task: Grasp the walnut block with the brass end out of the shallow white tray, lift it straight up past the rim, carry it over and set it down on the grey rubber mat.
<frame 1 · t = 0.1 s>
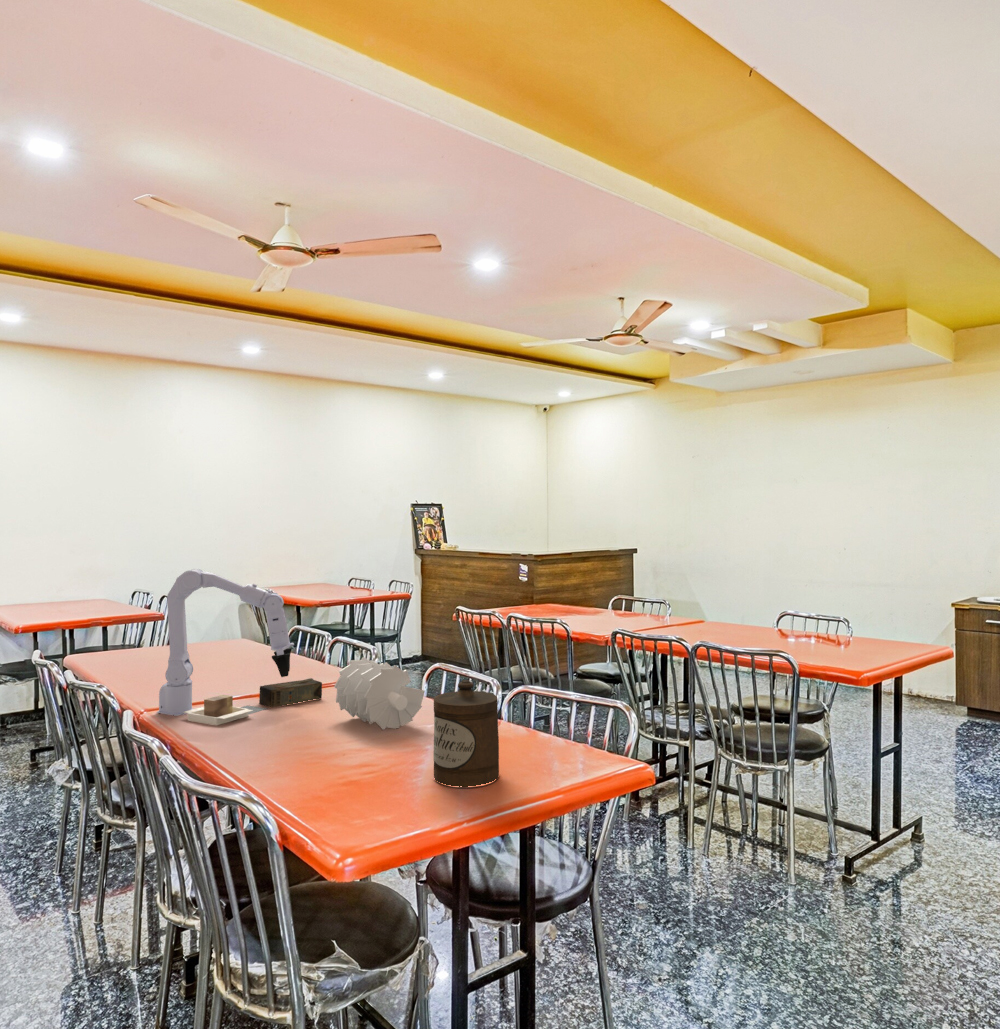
hand: (285, 674, 234), 11 cm above the table, tool pointing down, fingers open, 7 cm apart
beverage carton: (291, 703, 242), on the table
mat: (246, 711, 230), on the table
spiral staircase: (377, 723, 216), on the table
white tray: (218, 719, 220), on the table
walnut block: (218, 718, 220), resting on white tray
wooden container: (466, 778, 168), on the table
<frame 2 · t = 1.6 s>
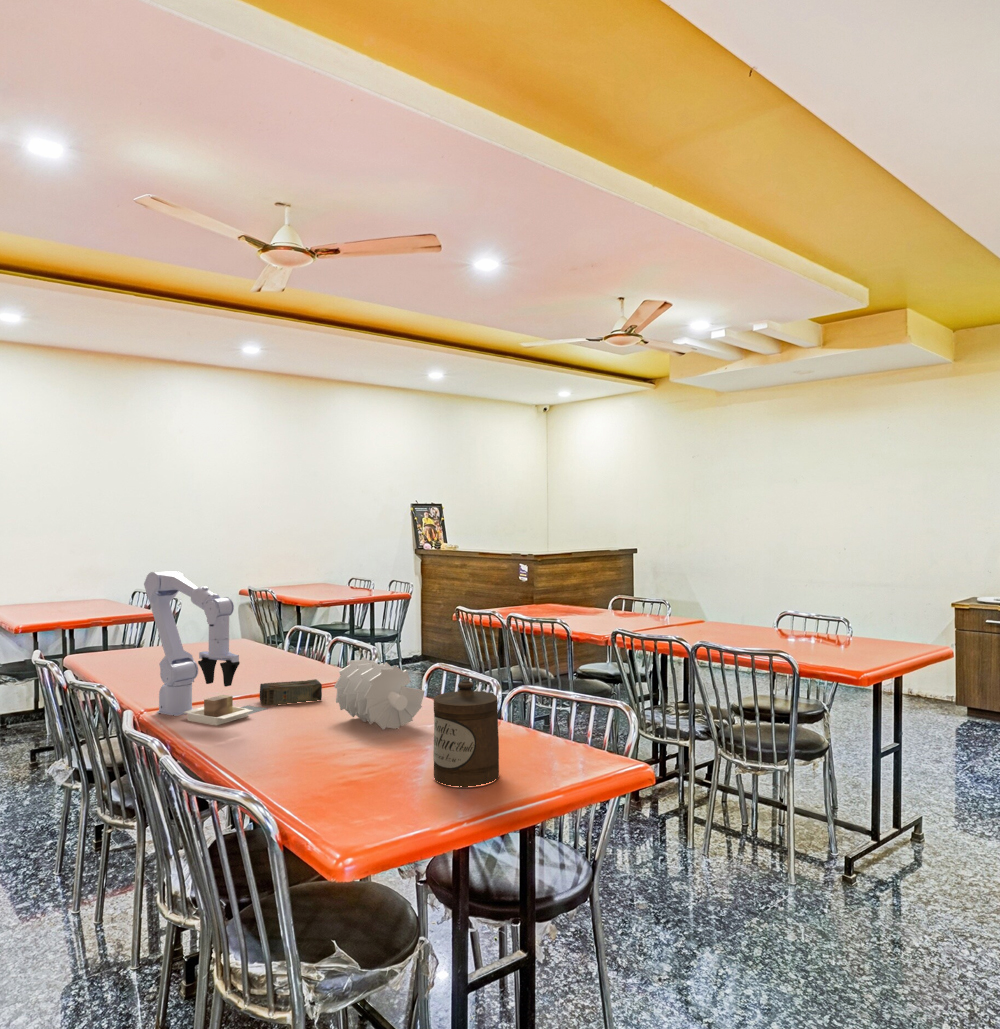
hand: (218, 684, 220), 10 cm above the table, tool pointing down, fingers open, 7 cm apart
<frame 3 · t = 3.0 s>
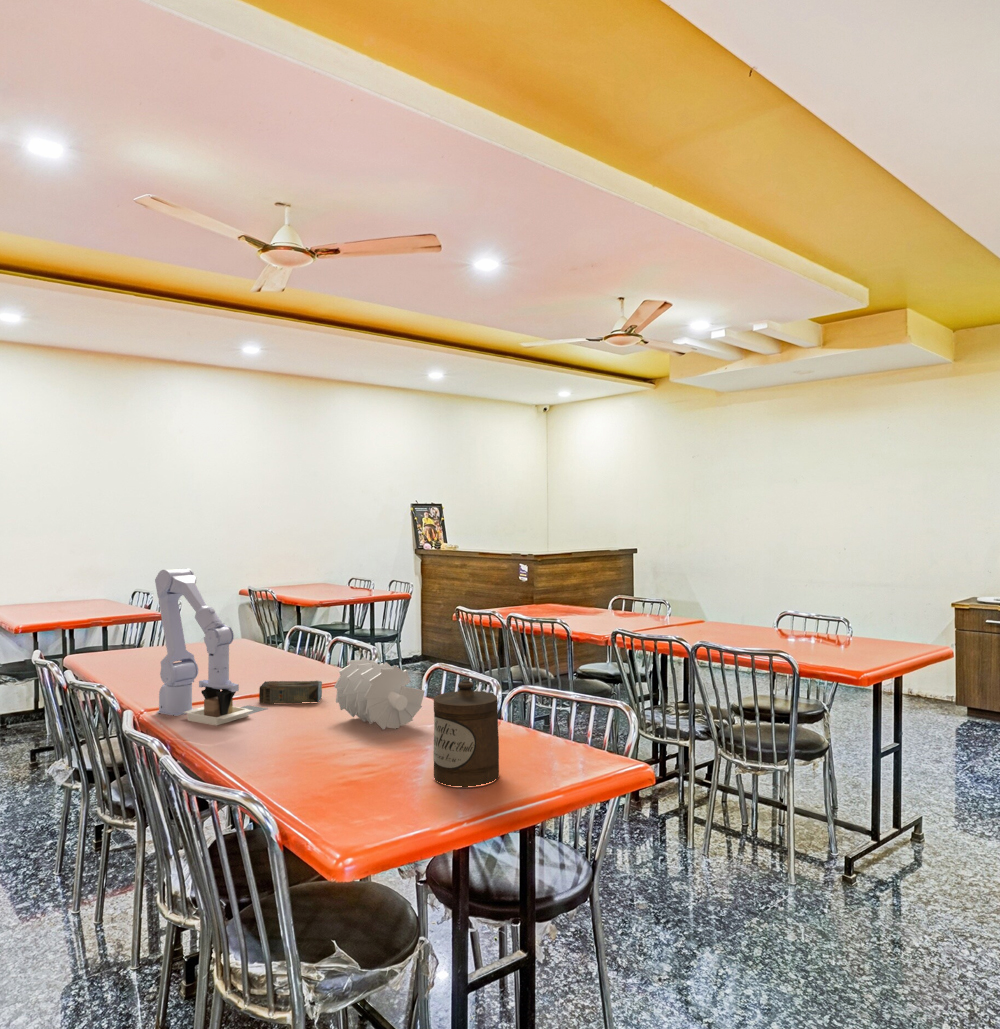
hand: (218, 713, 220), 2 cm above the table, tool pointing down, fingers closed on walnut block, 4 cm apart
walnut block: (218, 718, 220), resting on white tray, touching gripper
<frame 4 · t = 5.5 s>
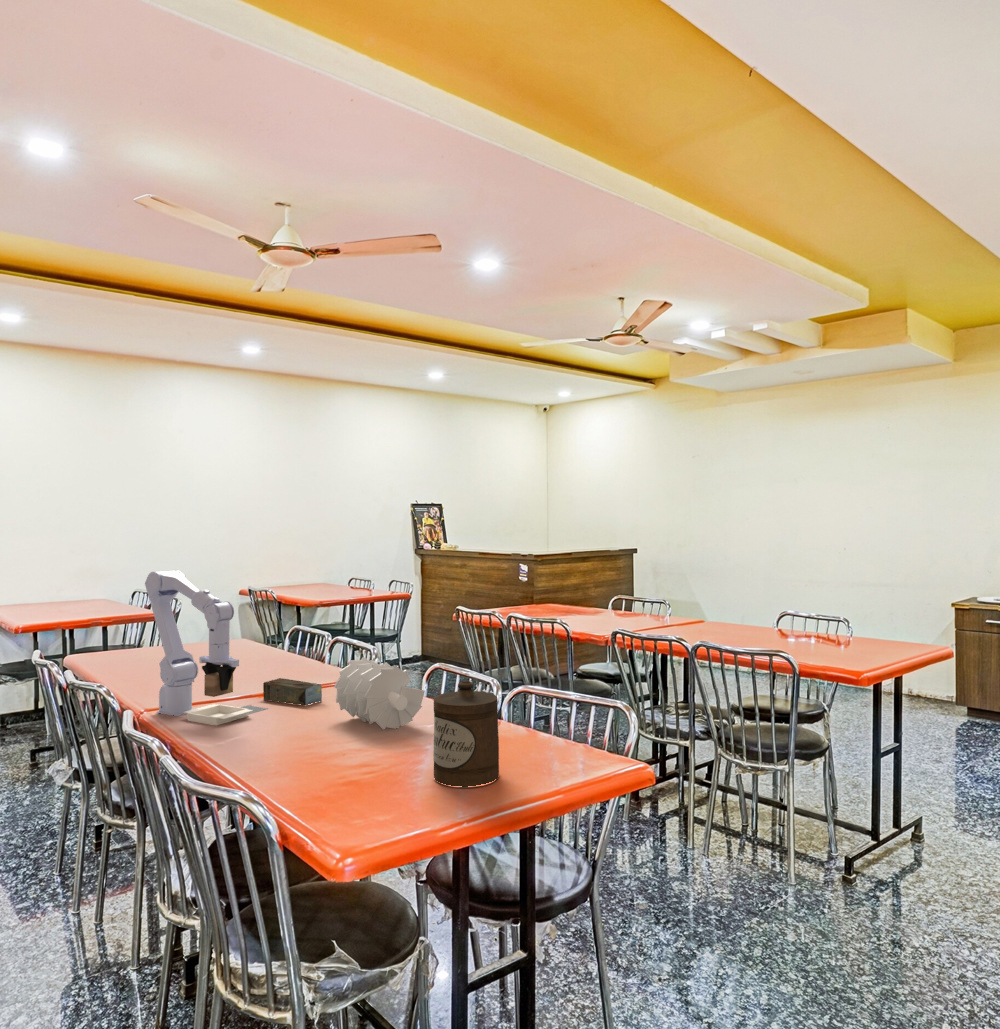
hand: (218, 689, 220), 9 cm above the table, tool pointing down, fingers closed on walnut block, 4 cm apart
walnut block: (218, 693, 220), point 8 cm above the table, touching gripper
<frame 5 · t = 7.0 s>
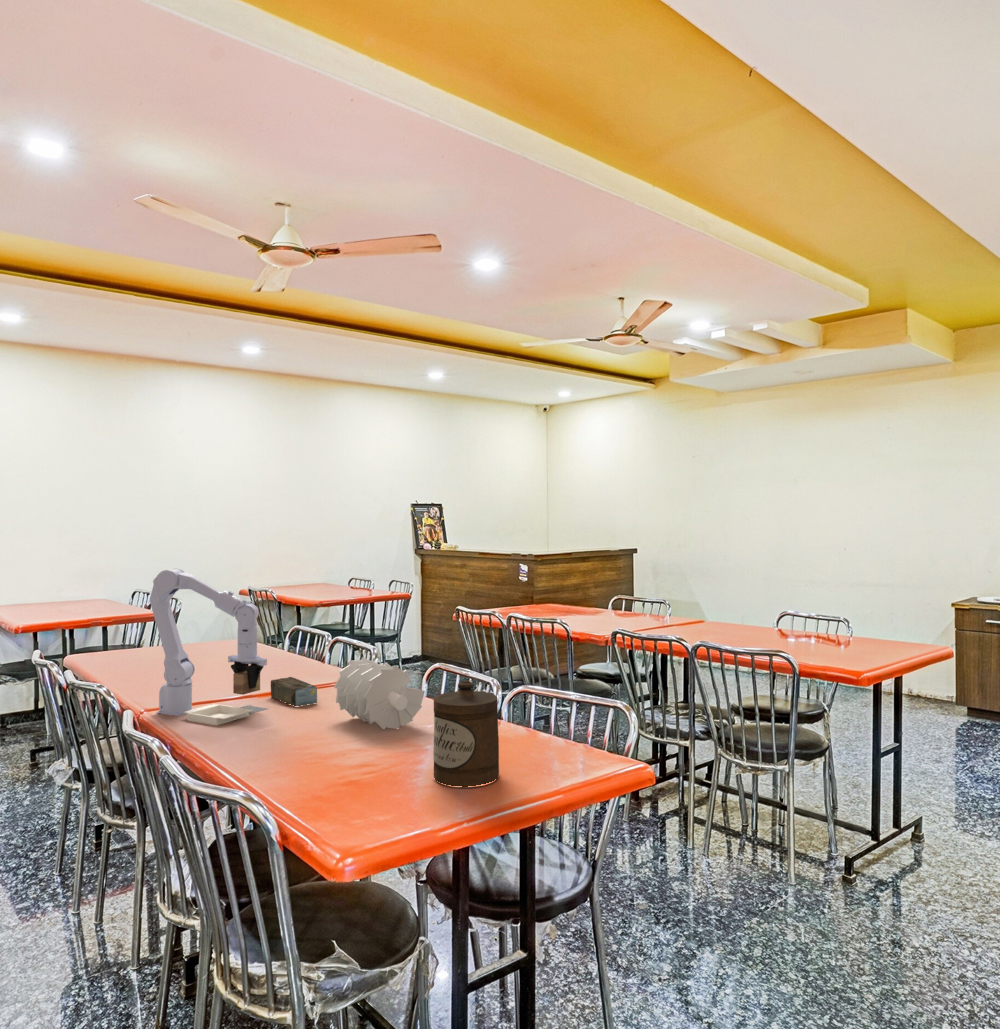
hand: (247, 687, 230), 7 cm above the table, tool pointing down, fingers closed on walnut block, 4 cm apart
walnut block: (246, 691, 230), point 6 cm above the table, touching gripper
when the fingers open (3 cm above the table, at t = 8.2 s): walnut block drops 2 cm, resting on mat.
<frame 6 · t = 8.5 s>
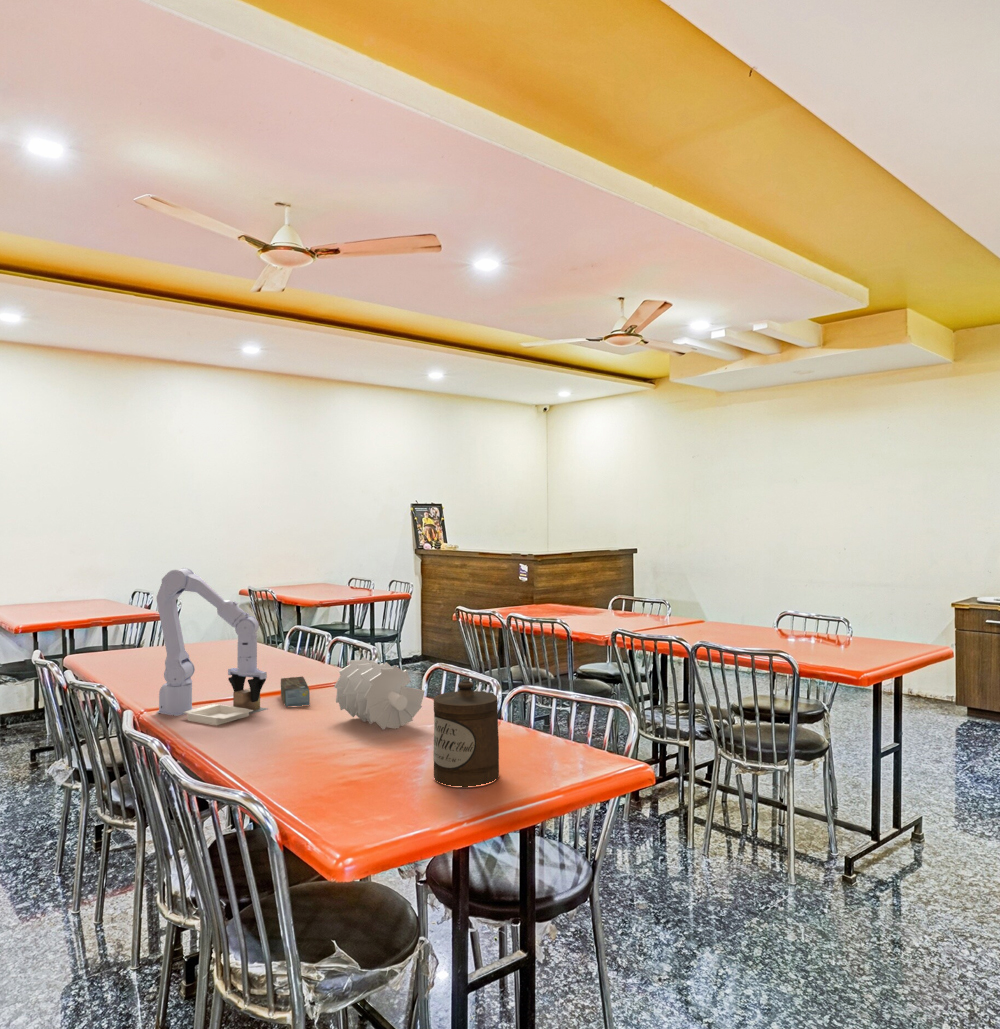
hand: (246, 700, 230), 3 cm above the table, tool pointing down, fingers open, 6 cm apart
walnut block: (246, 710, 229), resting on mat
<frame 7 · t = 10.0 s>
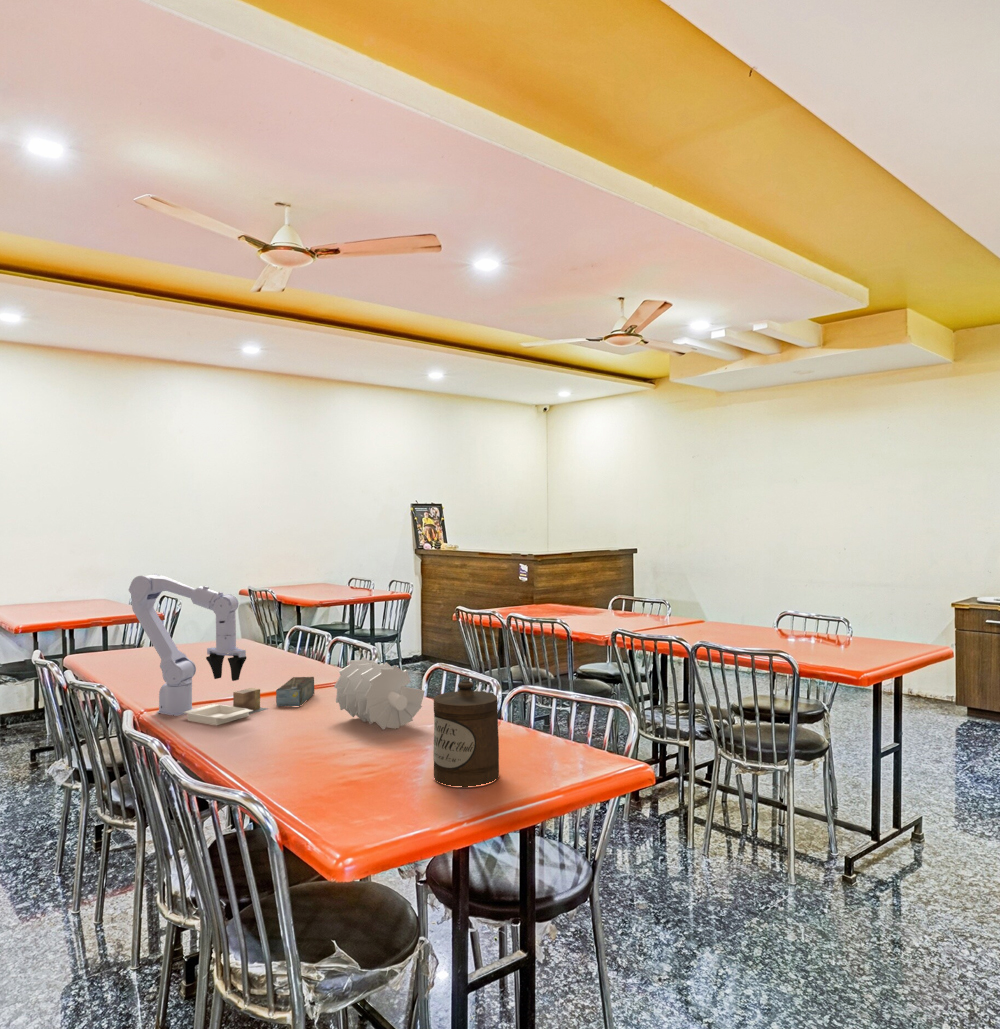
hand: (226, 679, 227), 10 cm above the table, tool pointing down, fingers open, 7 cm apart
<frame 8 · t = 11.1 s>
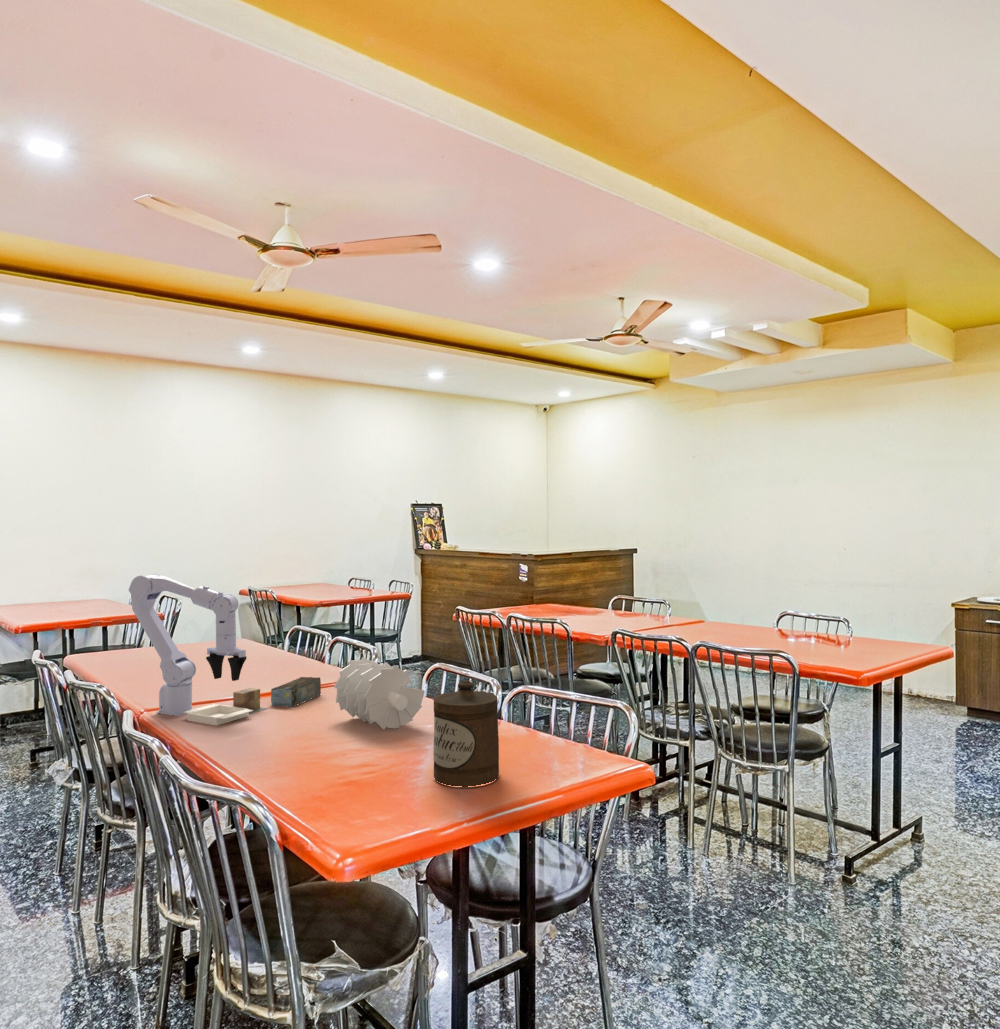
hand: (226, 679, 227), 10 cm above the table, tool pointing down, fingers open, 7 cm apart
at the end: walnut block inside the target area on the mat (0.1 cm from its centre), point 0.4 cm above the mat's base; walnut block tilted 0°; the gripper is holding nothing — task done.
